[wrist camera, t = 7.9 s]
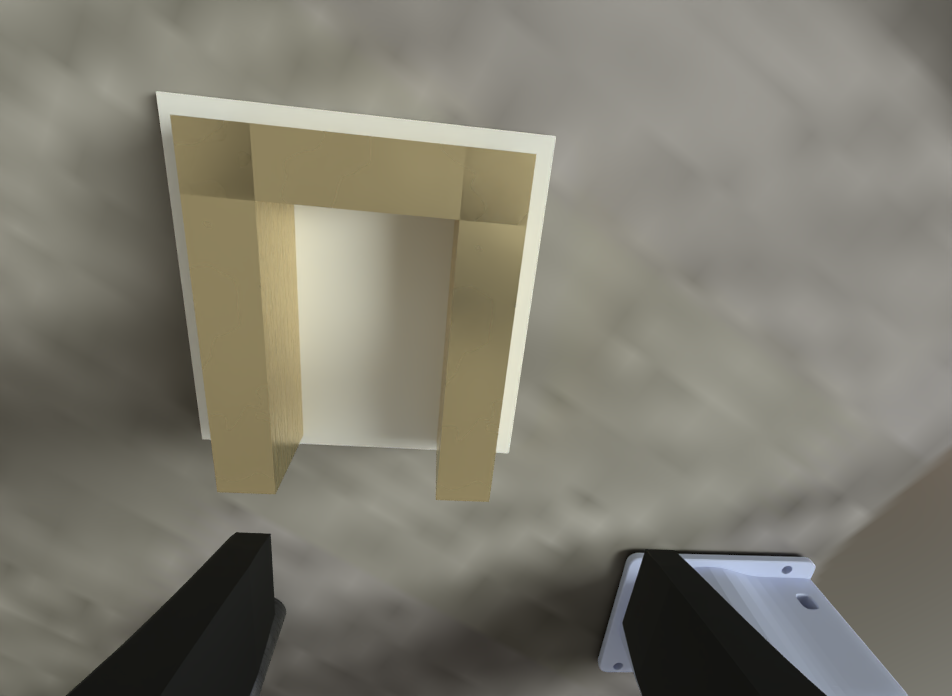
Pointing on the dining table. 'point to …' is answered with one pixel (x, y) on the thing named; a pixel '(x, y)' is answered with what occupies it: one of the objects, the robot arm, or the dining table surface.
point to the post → (270, 646)
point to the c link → (275, 280)
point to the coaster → (370, 286)
